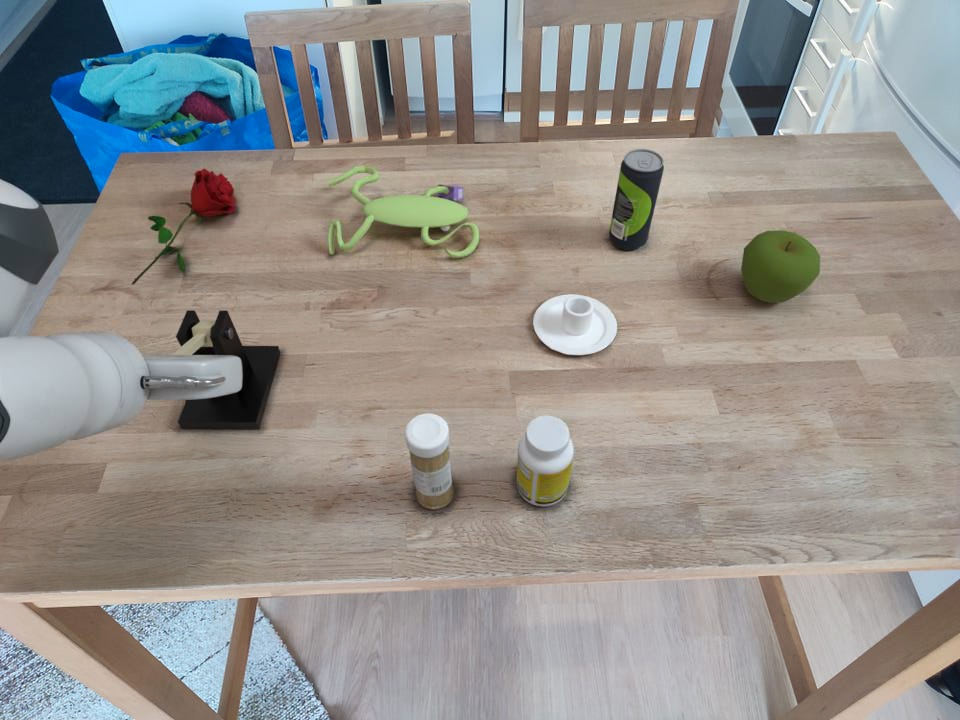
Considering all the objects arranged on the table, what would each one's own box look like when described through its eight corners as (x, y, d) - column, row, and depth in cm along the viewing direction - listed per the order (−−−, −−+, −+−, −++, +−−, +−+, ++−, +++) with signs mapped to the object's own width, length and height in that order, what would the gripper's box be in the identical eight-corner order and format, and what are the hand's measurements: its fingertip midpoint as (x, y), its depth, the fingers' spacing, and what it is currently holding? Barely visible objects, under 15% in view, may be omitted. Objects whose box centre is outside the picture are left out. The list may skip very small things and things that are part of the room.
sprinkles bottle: (450, 474, 80) (444, 408, 69) (457, 507, 77) (452, 443, 66) (412, 481, 79) (401, 415, 69) (418, 515, 76) (407, 452, 66)
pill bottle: (575, 473, 79) (585, 420, 71) (557, 516, 76) (566, 465, 67) (527, 455, 81) (531, 402, 73) (507, 496, 78) (510, 445, 69)
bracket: (259, 429, 84) (229, 365, 74) (181, 428, 84) (141, 364, 75) (280, 352, 93) (256, 286, 83) (210, 352, 93) (177, 285, 83)
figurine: (338, 187, 118) (332, 160, 114) (486, 193, 116) (486, 166, 112) (312, 255, 106) (304, 227, 102) (476, 263, 104) (476, 235, 100)
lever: (187, 381, 70) (183, 360, 69) (140, 381, 70) (136, 360, 69) (232, 338, 82) (230, 320, 81) (193, 338, 82) (189, 320, 81)
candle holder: (555, 368, 90) (557, 347, 87) (519, 310, 97) (520, 289, 94) (631, 343, 93) (637, 322, 90) (591, 289, 100) (595, 268, 97)
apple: (735, 262, 104) (754, 210, 96) (805, 278, 101) (830, 226, 94) (726, 308, 97) (746, 256, 90) (801, 326, 95) (828, 274, 87)
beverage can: (648, 252, 106) (668, 171, 94) (610, 252, 106) (624, 171, 94) (644, 228, 110) (662, 147, 98) (606, 227, 110) (620, 147, 98)
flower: (134, 247, 90) (224, 145, 111) (91, 268, 94) (185, 165, 115) (182, 296, 95) (259, 189, 116) (139, 314, 99) (221, 207, 120)
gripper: (208, 346, 57) (264, 339, 70) (-26, 345, 57) (75, 338, 71) (210, 419, 57) (265, 397, 71) (-22, 417, 57) (77, 396, 71)
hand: (168, 368), depth 71 cm, fingers closed on lever, 5 cm apart
